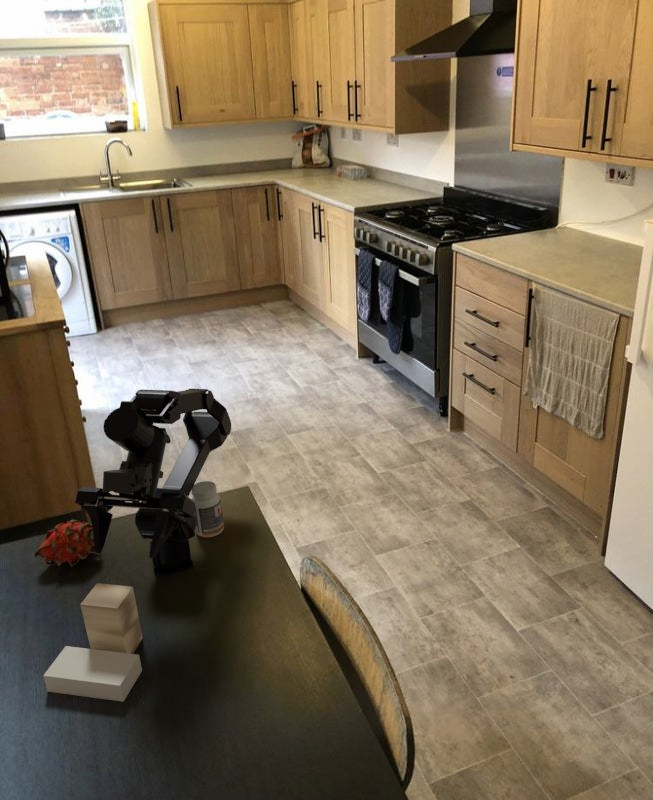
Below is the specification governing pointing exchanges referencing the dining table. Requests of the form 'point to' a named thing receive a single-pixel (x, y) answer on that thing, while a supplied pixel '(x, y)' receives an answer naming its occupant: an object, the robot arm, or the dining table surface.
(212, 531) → the pill bottle
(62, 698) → the dining table surface
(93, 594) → the birch block
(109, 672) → the grey plinth
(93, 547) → the dragon fruit
